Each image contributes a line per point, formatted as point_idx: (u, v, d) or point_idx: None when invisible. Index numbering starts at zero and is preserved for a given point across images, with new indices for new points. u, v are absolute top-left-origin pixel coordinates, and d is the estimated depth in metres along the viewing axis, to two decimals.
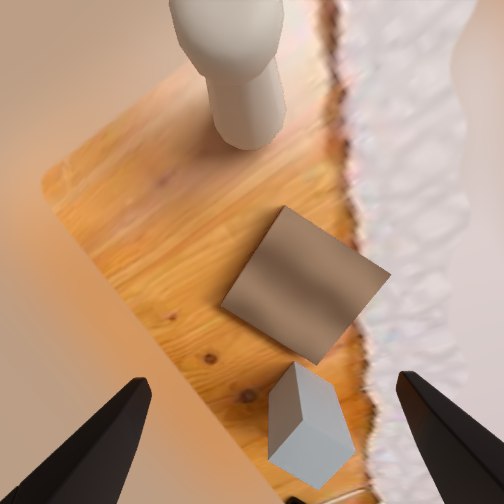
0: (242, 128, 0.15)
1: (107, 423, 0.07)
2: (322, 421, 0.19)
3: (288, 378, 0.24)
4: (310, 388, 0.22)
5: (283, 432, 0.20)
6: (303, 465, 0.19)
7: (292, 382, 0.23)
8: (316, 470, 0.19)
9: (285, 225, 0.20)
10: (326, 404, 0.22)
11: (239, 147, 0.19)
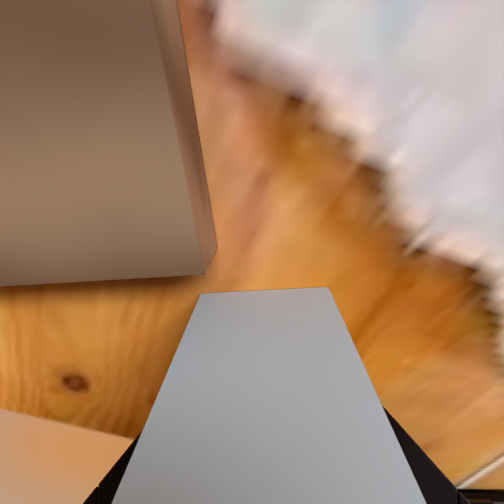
0: None
1: None
2: (238, 495, 0.04)
3: None
4: (228, 349, 0.07)
5: None
6: None
7: None
8: None
9: None
10: (288, 370, 0.06)
11: None
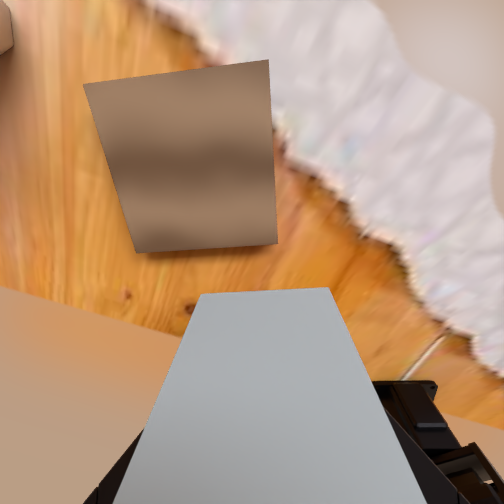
0: None
1: None
2: (239, 495, 0.04)
3: None
4: (228, 349, 0.07)
5: None
6: None
7: None
8: None
9: (104, 109, 0.14)
10: (288, 371, 0.06)
11: None
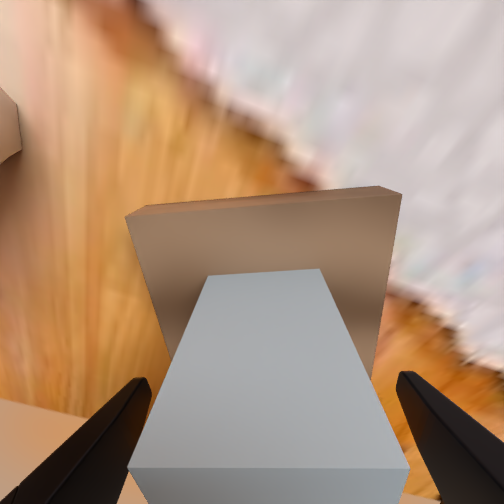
0: None
1: (107, 423, 0.07)
2: (244, 406, 0.05)
3: None
4: (234, 315, 0.08)
5: None
6: None
7: None
8: None
9: (153, 246, 0.10)
10: (283, 329, 0.07)
11: None
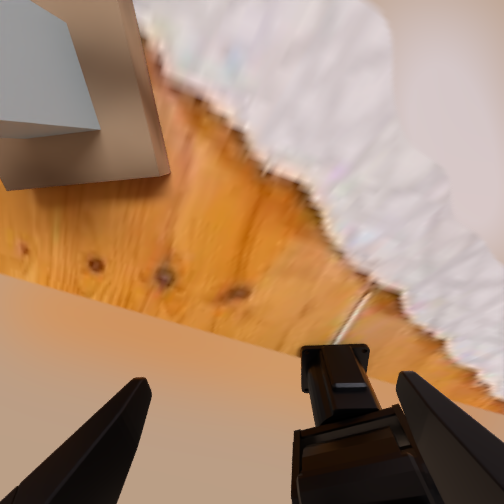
0: None
1: (107, 423, 0.07)
2: None
3: None
4: None
5: None
6: None
7: None
8: None
9: None
10: None
11: None
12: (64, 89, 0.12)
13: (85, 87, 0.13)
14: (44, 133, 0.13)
